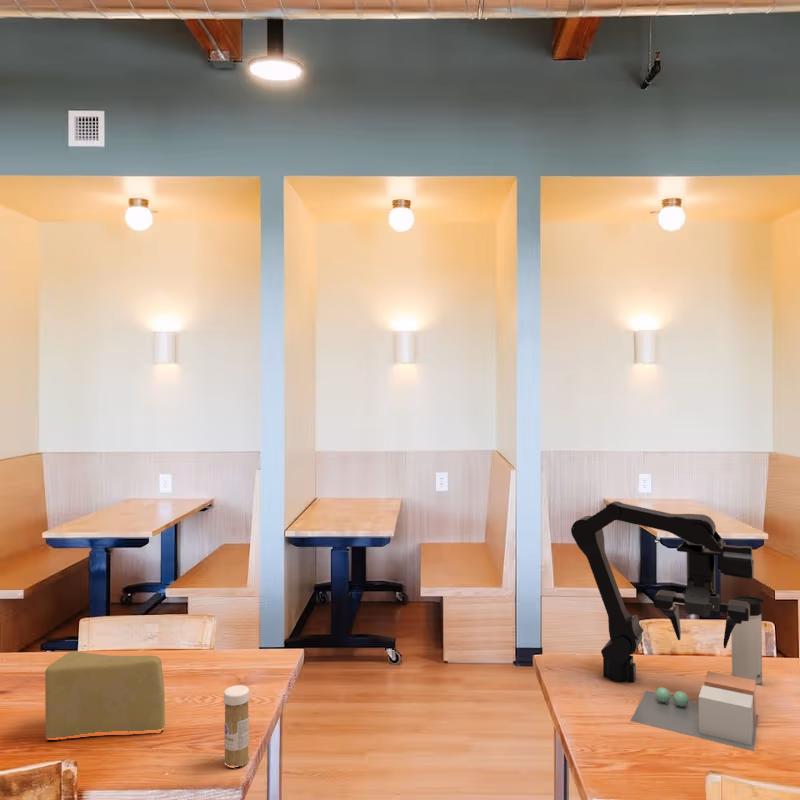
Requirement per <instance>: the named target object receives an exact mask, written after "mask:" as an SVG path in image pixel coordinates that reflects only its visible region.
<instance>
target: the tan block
mask: <svg viewBox="0 0 800 800" xmlns="http://www.w3.org/2000/svg"><path fill="white" fill-rule="evenodd" d="M703 683H704V684H703V685H704V686H709V687H714V688H719V689H723V690H728V691H733V692H738V693H743V694H748V695H753V726H754V727H755V719H756V715H757V693H756V691H757V685H756V680H752V679H747V678H742V677H736V676H732V674H731V675H730V674H725V673H719V672H715V671H710V670H707V673H706V676H705V678H704V681H703Z"/></svg>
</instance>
